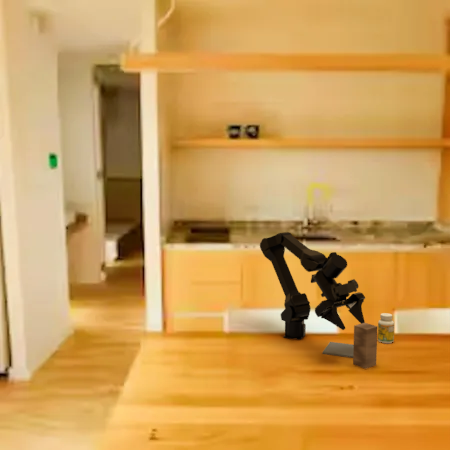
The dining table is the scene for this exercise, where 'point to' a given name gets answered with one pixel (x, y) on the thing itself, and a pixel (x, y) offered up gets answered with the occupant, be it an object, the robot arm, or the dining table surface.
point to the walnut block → (365, 345)
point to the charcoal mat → (339, 349)
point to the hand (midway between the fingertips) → (354, 326)
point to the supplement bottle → (386, 328)
